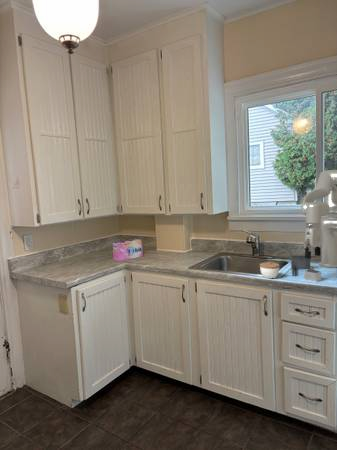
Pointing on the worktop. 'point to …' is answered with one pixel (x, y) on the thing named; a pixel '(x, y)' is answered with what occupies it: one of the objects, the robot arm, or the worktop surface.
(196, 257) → the worktop surface
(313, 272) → the lock block
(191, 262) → the worktop surface
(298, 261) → the coupler socket
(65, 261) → the worktop surface
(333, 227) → the robot arm
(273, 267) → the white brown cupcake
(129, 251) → the gum box
